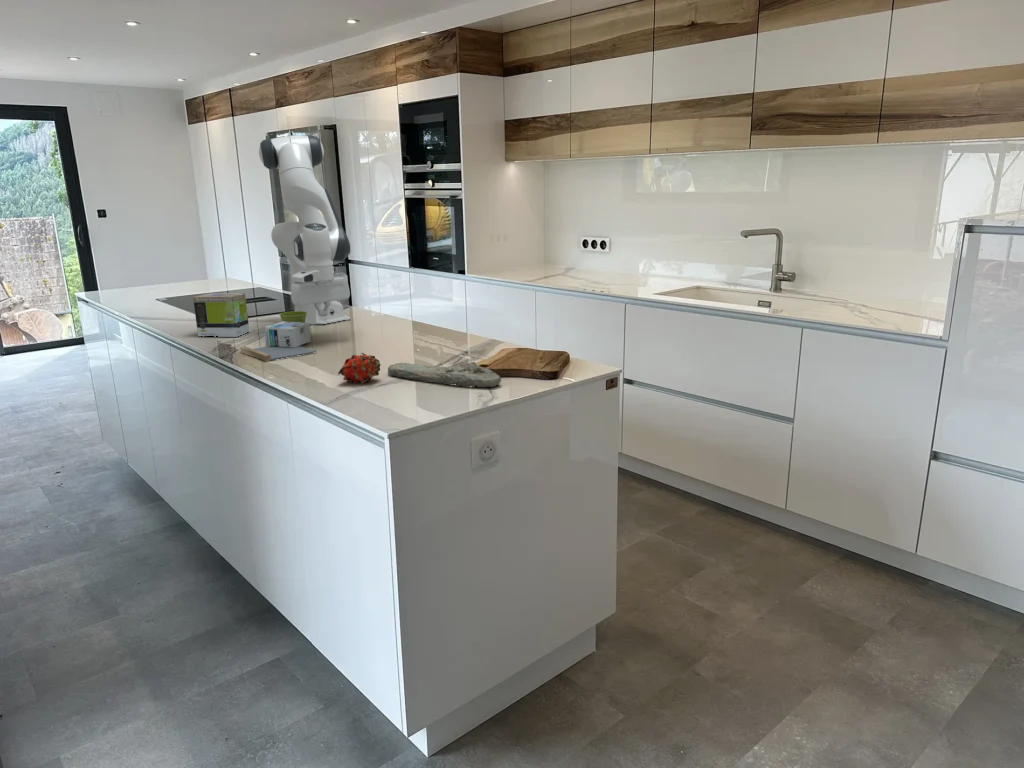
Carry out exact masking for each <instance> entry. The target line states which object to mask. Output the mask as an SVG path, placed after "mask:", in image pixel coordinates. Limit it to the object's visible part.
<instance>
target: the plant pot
mask: <svg viewBox="0 0 1024 768" xmlns="http://www.w3.org/2000/svg"><path fill="white" fill-rule="evenodd" d="M278 314H279V316H280V319H281V322H282V321H285V322H301V323H305V318H306V314H307V312H303V311H295V310H293V311H286V312H285V311H283V312H280V313H278Z"/></svg>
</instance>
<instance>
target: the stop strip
mask: <svg viewBox="0 0 1024 768" xmlns="http://www.w3.org/2000/svg"><path fill="white" fill-rule="evenodd" d="M254 349H255V348H251V347H248V346H240V353H241V352H242V353H241V354H243V353H245V354H244V355H246V354H247V355H246V356H249V355H250V356H249V357H252V356H253V357H252V358H254V357H256V358H255V359H257V358H258V360H260V359H261V361H263V360H264V361H263V362H265V361H268V362H271V361H270V360H271V355H269V354H266V353H263V352H260V351H257V350H254Z"/></svg>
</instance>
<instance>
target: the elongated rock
mask: <svg viewBox="0 0 1024 768" xmlns="http://www.w3.org/2000/svg"><path fill="white" fill-rule="evenodd" d="M387 375H388V376H389V375H390V377H398V378H403V379H406V378H407V379H408V380H411V379H412V381H419V380H422V381H421V382H423V381H429V382H437V383H436V384H445V383H447V384H446V385H448V384H456V385H464V386H463V387H465V386H477V388H485V387H487V388H488V387H490V388H493V386H494V387H496V385H497V386H498V385H499V384H500V383H501V381H502V378H501V376H500V375H499V374H497V373H496V372H495V371H493V370H491V369H490V368H487V367H482V366H480V365H479V364H477V363H476V362H475V361H471V362H466V363H460V364H459V365H457V364H456V365H451V366H444V367H442V366H436V365H426V364H425V365H424V364H419V363H407V362H397V363H394V364H390V365H389V366H388V367H387ZM429 382H428V383H429Z"/></svg>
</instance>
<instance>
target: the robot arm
mask: <svg viewBox="0 0 1024 768" xmlns="http://www.w3.org/2000/svg"><path fill="white" fill-rule="evenodd" d="M324 155H325V150H324V146H323V144H322V142H321V139H320V138H319V137H318V136H317V135H313V134H307V135H289V136H288V135H287V136H281V137H274V138H271V137H270V138H266V139H263V140H261V142H260V143H259V148H258V156H259V159H260V162H261V163H262V164H263V166H264V167H265V168H266V169H268V170H274V171H276V170H278V173H279V183H280V189H281V195H282V201H283V205H284V207H285V208H286V210H287V211H289V212H290V213H293V214H294V215H295V216H296V217H297V218H298V220H299V221H285V222H284V221H283V222H280V223H277V224H276V223H275V225H274V226H273V228H272V230H271V233H270V234H271V235H270V236H271V241H272V243H273V245H274V246H275V247H276V248H277V249H279V250H280V252H282V253H283V254H284V255H285V257H286V259H287V260H288V262H289V265H290V268H291V274H292V275H291V281H292V282H293V283H291V287H290V298H291V299H290V300H291V303H292V304H293V305H294V311H303V312H307V314H306V318H305V323H309V324H326V323H331V322H336V321H341V320H346V319H350V320H351V316H349V315H347V314H345V310H344V306H343V305H342V303H340V302H339V301H342V300H343V301H344V300H348V299H349V298H350V296H351V291H350V286H349V279H348V278H349V277H348V275H347V273H345V272H344V271H339V272H334V268H333V267H334V266H333V262H343V261H345V259H347V258H348V257H349V256H350V254H351V243H350V240H349V238H348V235H347V233H346V232H345V230H344V227H343V225H342V222H341V220H340V218H339V214H338V213H337V210H336V208H335V204H334V201H333V200H332V197H331V195H330V193H329V191H328V190H327V189H326V187H323V186H322V185H321V184H320V183H319V182H318V180H317V178H316V176H315V173H314V168H315V167H316V166H319V165H321V163H322V162H323V161H324ZM321 213H322V214H321ZM346 321H347V320H346ZM341 322H342V321H341ZM336 323H337V322H336ZM331 324H332V323H331ZM326 325H327V324H326Z"/></svg>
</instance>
